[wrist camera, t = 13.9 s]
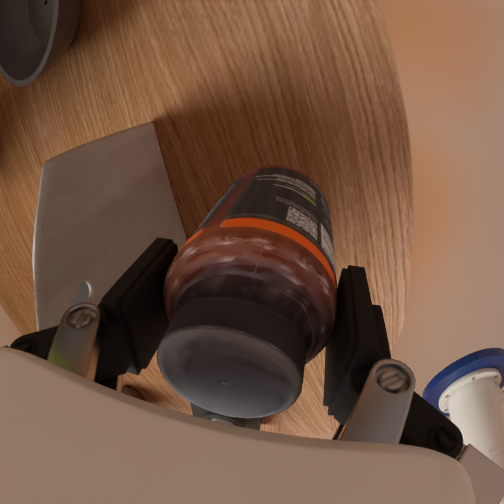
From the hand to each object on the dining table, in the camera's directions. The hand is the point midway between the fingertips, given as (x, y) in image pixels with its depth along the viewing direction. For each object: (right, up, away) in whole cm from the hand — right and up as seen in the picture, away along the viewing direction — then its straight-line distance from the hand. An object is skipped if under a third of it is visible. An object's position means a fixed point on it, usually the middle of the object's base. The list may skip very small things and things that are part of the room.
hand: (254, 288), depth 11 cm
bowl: (-22, +29, +8) cm, 37 cm away
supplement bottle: (+1, +4, +6) cm, 7 cm away
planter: (-11, +6, +19) cm, 23 cm away
